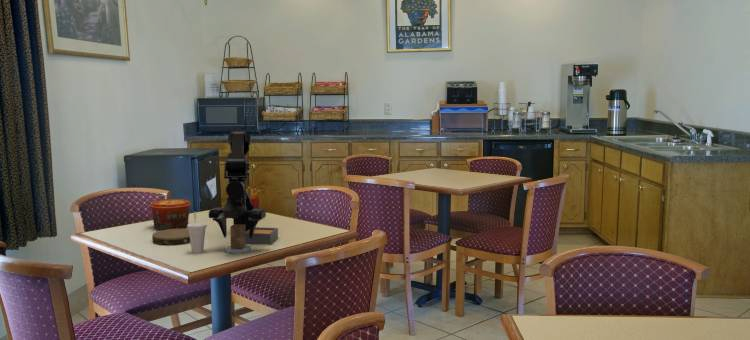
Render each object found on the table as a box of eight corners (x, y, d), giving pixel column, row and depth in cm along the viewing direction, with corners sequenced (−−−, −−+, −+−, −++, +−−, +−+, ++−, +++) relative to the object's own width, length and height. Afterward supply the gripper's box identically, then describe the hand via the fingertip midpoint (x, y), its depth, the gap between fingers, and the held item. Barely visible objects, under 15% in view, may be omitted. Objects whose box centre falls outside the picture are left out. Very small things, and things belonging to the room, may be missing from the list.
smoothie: (190, 249, 203) (189, 210, 202) (209, 249, 204) (207, 210, 202) (186, 254, 197) (184, 214, 195) (205, 254, 198) (204, 213, 196)
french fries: (246, 218, 258) (246, 184, 256) (263, 219, 255) (262, 185, 254) (235, 221, 250) (234, 187, 248) (252, 223, 247) (251, 188, 245)
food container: (194, 230, 234) (194, 203, 233) (152, 233, 227) (151, 206, 226) (188, 222, 248) (187, 197, 247) (148, 225, 241) (147, 200, 240)
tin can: (197, 234, 227) (196, 227, 226) (198, 244, 212) (198, 236, 212) (153, 237, 222) (153, 230, 221) (151, 247, 207) (151, 239, 206)
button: (248, 238, 213) (247, 234, 213) (254, 233, 220) (254, 229, 220) (268, 238, 212) (268, 234, 212) (274, 233, 220) (273, 230, 219)
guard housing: (243, 243, 212) (243, 233, 212) (252, 237, 222) (252, 227, 221) (270, 244, 211) (270, 234, 210) (278, 238, 221) (277, 228, 220)
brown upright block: (230, 249, 201) (230, 226, 200) (234, 246, 205) (234, 224, 204) (242, 249, 201) (241, 226, 200) (245, 246, 205) (245, 224, 204)
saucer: (221, 253, 199) (220, 250, 199) (230, 246, 208) (230, 244, 208) (246, 254, 198) (246, 251, 198) (254, 247, 207) (254, 245, 207)
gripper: (201, 196, 194) (202, 242, 196) (256, 198, 192) (256, 244, 194) (214, 191, 205) (215, 234, 207) (265, 192, 203) (266, 236, 205)
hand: (237, 237), depth 203 cm, fingers open, 9 cm apart
